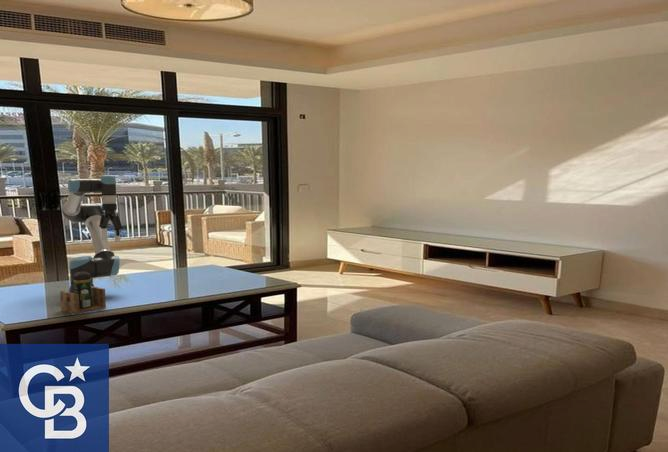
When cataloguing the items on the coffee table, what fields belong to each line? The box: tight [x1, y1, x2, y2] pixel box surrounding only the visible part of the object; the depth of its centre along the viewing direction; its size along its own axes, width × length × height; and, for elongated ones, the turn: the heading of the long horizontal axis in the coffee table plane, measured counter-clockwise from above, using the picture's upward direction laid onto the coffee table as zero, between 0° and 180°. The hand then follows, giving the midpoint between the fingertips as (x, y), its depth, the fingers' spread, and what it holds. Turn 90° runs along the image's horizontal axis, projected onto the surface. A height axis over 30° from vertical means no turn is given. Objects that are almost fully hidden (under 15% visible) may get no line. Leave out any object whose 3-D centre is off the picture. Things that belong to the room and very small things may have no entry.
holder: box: [59, 286, 107, 315], centre depth 266 cm, size 14×18×10 cm
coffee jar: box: [74, 271, 92, 309], centre depth 266 cm, size 10×8×19 cm
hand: (111, 240), depth 286 cm, fingers open, 13 cm apart
